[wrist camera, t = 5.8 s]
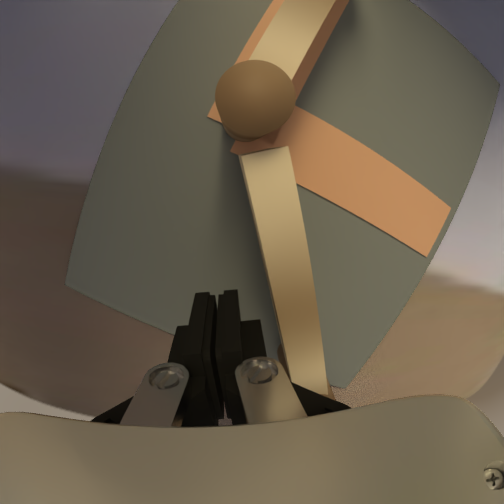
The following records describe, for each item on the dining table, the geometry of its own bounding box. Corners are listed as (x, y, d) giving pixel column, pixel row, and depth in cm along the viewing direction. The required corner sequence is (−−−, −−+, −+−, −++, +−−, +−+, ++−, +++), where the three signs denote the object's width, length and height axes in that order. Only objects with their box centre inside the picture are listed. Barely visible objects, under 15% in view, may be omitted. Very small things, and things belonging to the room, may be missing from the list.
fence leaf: (230, 156, 11) (228, 159, 7) (276, 146, 11) (306, 143, 7) (280, 368, 14) (297, 443, 10) (315, 359, 14) (342, 431, 10)
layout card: (242, -75, 8) (242, -79, 7) (496, 85, 11) (501, 84, 10) (67, 282, 13) (63, 285, 13) (343, 385, 16) (345, 389, 16)
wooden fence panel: (320, -49, 8) (355, -111, 3) (355, -32, 9) (402, -87, 4) (214, 130, 11) (201, 114, 6) (256, 149, 11) (274, 147, 7)
